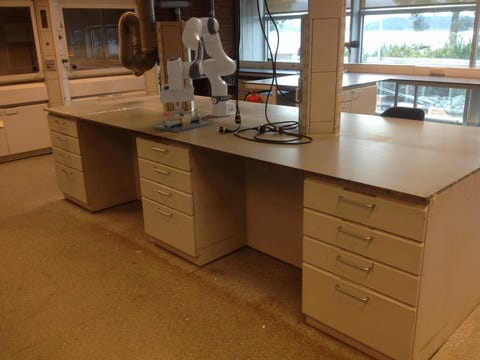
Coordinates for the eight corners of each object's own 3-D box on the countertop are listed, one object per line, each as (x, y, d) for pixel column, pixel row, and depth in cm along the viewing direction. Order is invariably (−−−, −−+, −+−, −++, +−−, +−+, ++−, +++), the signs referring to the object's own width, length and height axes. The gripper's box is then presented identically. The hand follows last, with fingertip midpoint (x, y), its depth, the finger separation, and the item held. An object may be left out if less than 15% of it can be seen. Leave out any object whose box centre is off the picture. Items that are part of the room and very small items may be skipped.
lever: (181, 114, 283) (181, 108, 282) (186, 114, 281) (185, 109, 280) (163, 118, 270) (163, 112, 269) (167, 119, 268) (167, 113, 267)
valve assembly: (187, 121, 300) (186, 110, 298) (211, 124, 287) (211, 113, 285) (152, 128, 278) (151, 117, 276) (178, 132, 265) (177, 120, 263)
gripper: (193, 84, 267) (194, 107, 271) (158, 86, 263) (160, 109, 267) (194, 85, 261) (196, 109, 265) (158, 87, 257) (161, 111, 261)
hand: (178, 109), depth 266 cm, fingers closed
